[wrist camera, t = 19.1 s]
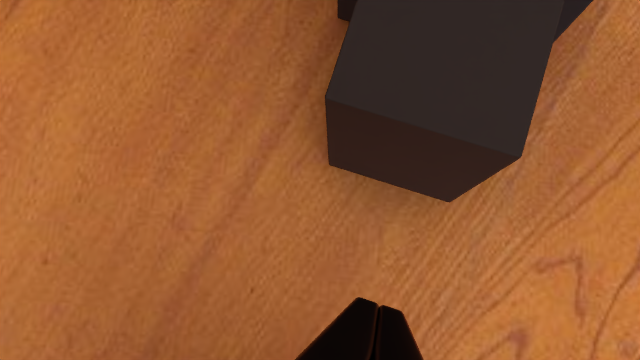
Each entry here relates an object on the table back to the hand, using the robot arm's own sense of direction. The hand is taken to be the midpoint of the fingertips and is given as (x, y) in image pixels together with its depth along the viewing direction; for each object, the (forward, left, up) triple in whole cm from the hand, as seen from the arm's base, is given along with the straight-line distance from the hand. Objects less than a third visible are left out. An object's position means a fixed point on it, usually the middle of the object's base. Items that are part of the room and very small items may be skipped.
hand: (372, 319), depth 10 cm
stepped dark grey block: (+6, -7, -12) cm, 15 cm away
